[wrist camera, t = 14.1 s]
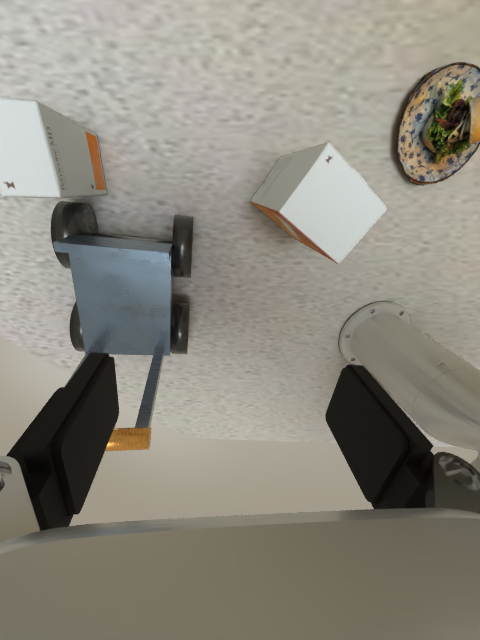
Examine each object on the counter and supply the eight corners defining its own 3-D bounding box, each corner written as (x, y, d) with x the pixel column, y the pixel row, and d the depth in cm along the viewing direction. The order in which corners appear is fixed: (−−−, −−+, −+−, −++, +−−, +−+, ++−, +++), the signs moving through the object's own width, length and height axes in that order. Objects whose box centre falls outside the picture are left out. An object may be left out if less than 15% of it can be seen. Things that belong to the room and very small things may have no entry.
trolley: (193, 213, 32) (189, 256, 14) (188, 336, 40) (180, 469, 22) (76, 199, 30) (-129, 226, 11) (95, 333, 38) (-5, 480, 19)
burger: (409, 58, 28) (472, 22, 22) (497, 75, 30) (579, 45, 24) (375, 181, 34) (417, 181, 27) (451, 188, 36) (507, 190, 29)
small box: (248, 201, 33) (276, 211, 21) (280, 154, 31) (330, 137, 19) (294, 239, 36) (339, 266, 24) (325, 199, 34) (391, 207, 22)
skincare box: (109, 194, 30) (62, 201, 20) (69, 193, 29) (-1, 198, 19) (98, 131, 27) (36, 98, 17) (54, 127, 27) (-39, 91, 16)
